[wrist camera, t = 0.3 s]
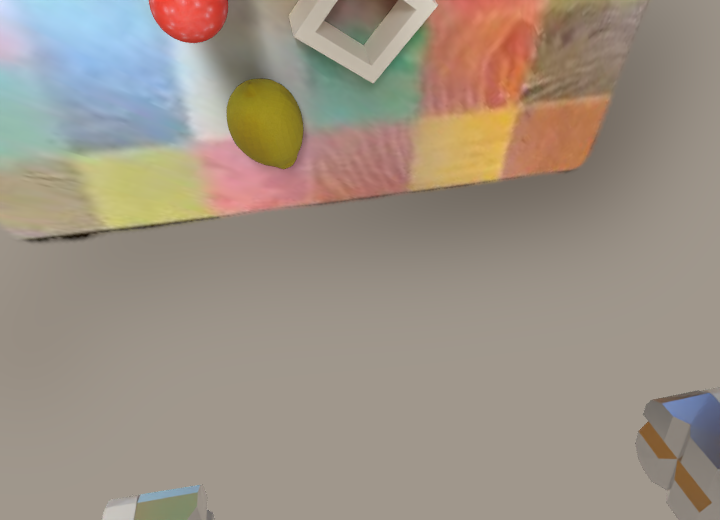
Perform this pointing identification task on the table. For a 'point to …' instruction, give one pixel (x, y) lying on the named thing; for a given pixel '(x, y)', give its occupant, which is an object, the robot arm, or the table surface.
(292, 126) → the lemon
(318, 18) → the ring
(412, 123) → the table surface
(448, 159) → the table surface
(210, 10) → the stacking toy
